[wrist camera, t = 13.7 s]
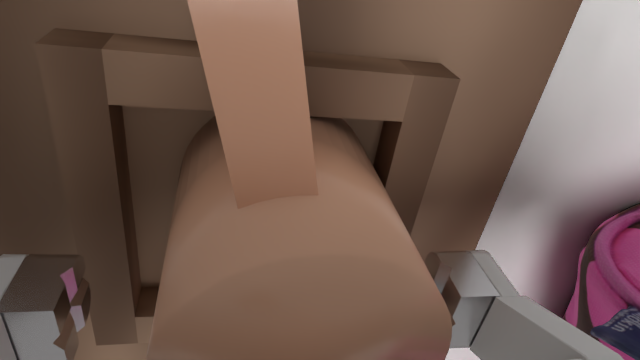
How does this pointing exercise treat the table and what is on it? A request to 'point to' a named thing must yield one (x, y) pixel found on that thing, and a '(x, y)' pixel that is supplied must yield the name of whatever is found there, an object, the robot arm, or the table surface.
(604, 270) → the pencil case
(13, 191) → the socket board
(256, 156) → the toggle lever handle
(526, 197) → the table surface
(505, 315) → the robot arm
